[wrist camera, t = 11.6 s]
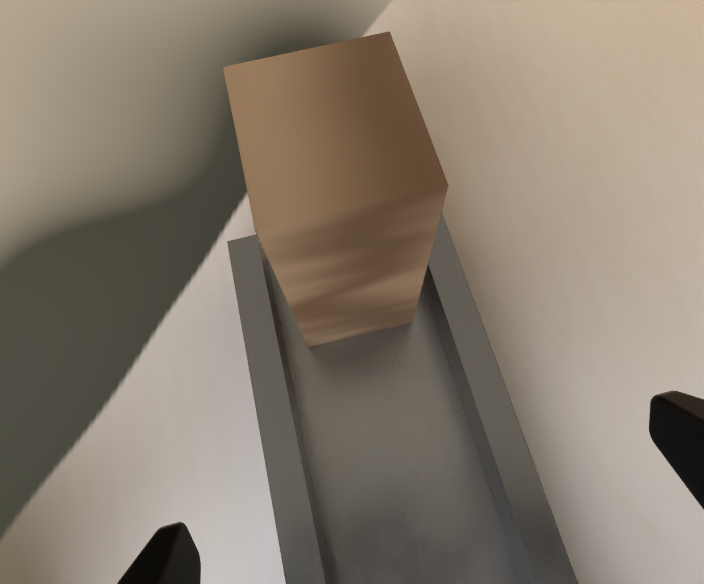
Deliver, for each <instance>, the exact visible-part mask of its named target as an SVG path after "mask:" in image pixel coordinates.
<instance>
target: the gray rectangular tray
mask: <svg viewBox="0 0 704 584" xmlns="http://www.w3.org/2000/svg"><path fill="white" fill-rule="evenodd" d="M227 243H228V248H229V254H230V260H231V266H232V272H233V278H234V283H235V289H236V295H237V301H238V307H239V313H240V318H241V324H242V330H243V336H244V342H245V348H246V353H247V359H248V365H249V371H250V377H251V383H252V388H253V394H254V400H255V406H256V412H257V418H258V423H259V429H260V435H261V441H262V447H263V452H264V458H265V464H266V470H267V476H268V482H269V487H270V493H271V499H272V505H273V511H274V517H275V522H276V528H277V534H278V540H279V546H280V552H281V557H282V563H283V569H284V575H285V581H286V584H578V582H577V580H576V577H575V574H574V572H573V569H572V566H571V563H570V561H569V558H568V555H567V553H566V550H565V547H564V544H563V542H562V539H561V536H560V533H559V531H558V528H557V525H556V523H555V520H554V517H553V514H552V512H551V509H550V506H549V504H548V501H547V498H546V495H545V493H544V490H543V487H542V484H541V482H540V479H539V476H538V474H537V471H536V468H535V465H534V463H533V460H532V457H531V455H530V452H529V449H528V446H527V444H526V441H525V438H524V435H523V433H522V430H521V427H520V425H519V422H518V419H517V416H516V414H515V411H514V408H513V406H512V403H511V400H510V397H509V395H508V392H507V389H506V386H505V384H504V381H503V378H502V376H501V373H500V370H499V367H498V365H497V362H496V359H495V357H494V354H493V351H492V348H491V346H490V343H489V340H488V337H487V335H486V332H485V329H484V327H483V324H482V321H481V318H480V316H479V313H478V310H477V308H476V305H475V302H474V299H473V297H472V294H471V291H470V288H469V286H468V283H467V280H466V278H465V275H464V272H463V269H462V267H461V264H460V261H459V259H458V256H457V253H456V250H455V248H454V245H453V242H452V239H451V237H450V234H449V231H448V229H447V226H446V223H445V220H444V218H443V215H442V212H441V215H440V219H439V223H438V227H437V231H436V234H435V238H434V242H433V246H432V250H431V254H430V258H429V261H428V265H427V269H426V273H425V277H424V281H423V284H422V288H421V292H420V296H419V300H418V304H417V307H416V311H415V315H414V319H413V322H409V323H405V324H401V325H397V326H393V327H389V328H385V329H381V330H377V331H373V332H369V333H365V334H361V335H357V336H353V337H349V338H345V339H341V340H337V341H333V342H329V343H325V344H321V345H317V346H313V347H309V348H308V346H307V344H306V342H305V340H304V337H303V335H302V333H301V331H300V328H299V326H298V324H297V322H296V320H295V317H294V315H293V313H292V311H291V309H290V306H289V304H288V302H287V300H286V297H285V295H284V293H283V291H282V289H281V286H280V284H279V282H278V280H277V278H276V275H275V273H274V271H273V269H272V266H271V264H270V262H269V260H268V258H267V257H266V254H265V252H264V250H263V248H262V246H261V243H260V241H259V239H258V237H257V235H253V236H248V237H244V238H240V239H236V240H231V241H227Z"/></svg>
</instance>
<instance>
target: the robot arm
mask: <svg viewBox="0 0 704 584" xmlns="http://www.w3.org/2000/svg"><path fill="white" fill-rule="evenodd" d="M649 432H650V436H651V438H652V440H653V442H654V443H655V445H656V446H657V447H658V449H659V450H660V451H661V453H662V454H663V455H664V457H665V458H666V460H667V461H668V462H669V464H670V465H671V466H672V468H673V469H674V470H675V472H676V473H677V474H678V476H679V477H680V478H681V480H682V481H683V482H684V484H685V485H686V486H687V488H688V489H689V491H690V492H691V493H692V495H693V496H694V497H695V499H696V500H697V501H698V503H699V504H700V505H701V506H702V508H703V509H704V399H700V398H697V397H694V396H691V395H688V394H685V393H682V392H678V391H669V392H665V393H661V394H657V395H655V396H653V398H652V399H651V403H650V420H649ZM200 575H201V563H200V556H199V552H198V550H197V548H196V546H195V544H194V541H193V539H192V537H191V535H190V533H189V531H188V529H187V527H186V525H185V524H184V523H182V522H178V523H174V524H170V525H166V526H163V527H161V528H159V529H158V530H157V531H156V533H155V534H154V535H153V537H152V538H151V539H150V541H149V542H148V543H147V545H146V546H145V547H144V549H143V550H142V551H141V553H140V554H139V555H138V556H137V558H136V559H135V560H134V562H133V563H132V564H131V566H130V567H129V568H128V570H127V571H126V572H125V574H124V575H123V576H122V578H121V579H120V580H119V582H118V583H117V584H200Z"/></svg>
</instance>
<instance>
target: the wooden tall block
mask: <svg viewBox="0 0 704 584" xmlns="http://www.w3.org/2000/svg"><path fill="white" fill-rule="evenodd" d="M223 69H224V74H225V79H226V84H227V89H228V94H229V99H230V105H231V109H232V115H233V120H234V125H235V130H236V135H237V140H238V145H239V150H240V156H241V161H242V166H243V170H244V176H245V181H246V186H247V191H248V196H249V201H250V206H251V211H252V216H253V222H254V227H255V231H256V233H257V235H258V238H259V240H260V242H261V244H262V246H263V249H264V251H265V253H266V255H267V258H268V260H269V262H270V264H271V266H272V269H273V271H274V273H275V275H276V278H277V280H278V282H279V284H280V286H281V289H282V291H283V293H284V295H285V297H286V300H287V302H288V304H289V306H290V309H291V311H292V313H293V315H294V317H295V320H296V322H297V324H298V326H299V328H300V331H301V333H302V335H303V337H304V340H305V342H306V344H307V346H308V348H309V347H313V346H317V345H321V344H325V343H329V342H333V341H337V340H341V339H345V338H349V337H353V336H357V335H361V334H365V333H369V332H373V331H377V330H381V329H385V328H389V327H393V326H397V325H401V324H405V323H409V322H413V319H414V315H415V311H416V307H417V304H418V300H419V296H420V292H421V288H422V284H423V281H424V277H425V273H426V269H427V265H428V261H429V258H430V254H431V250H432V246H433V242H434V238H435V234H436V231H437V227H438V223H439V219H440V215H441V211H442V208H443V204H444V200H445V196H446V192H447V188H448V183H447V181H446V178H445V176H444V173H443V170H442V168H441V165H440V162H439V160H438V157H437V155H436V152H435V149H434V147H433V144H432V141H431V139H430V136H429V134H428V131H427V128H426V126H425V123H424V120H423V118H422V115H421V113H420V110H419V107H418V105H417V102H416V100H415V97H414V94H413V92H412V89H411V86H410V84H409V81H408V79H407V76H406V73H405V71H404V68H403V65H402V63H401V60H400V58H399V55H398V52H397V50H396V47H395V45H394V42H393V39H392V37H391V34H390V32H385V33H380V34H376V35H371V36H366V37H362V38H357V39H352V40H348V41H343V42H338V43H334V44H329V45H325V46H319V47H315V48H310V49H305V50H301V51H296V52H291V53H287V54H282V55H277V56H272V57H268V58H263V59H258V60H254V61H249V62H244V63H240V64H235V65H230V66H225V67H223Z"/></svg>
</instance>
